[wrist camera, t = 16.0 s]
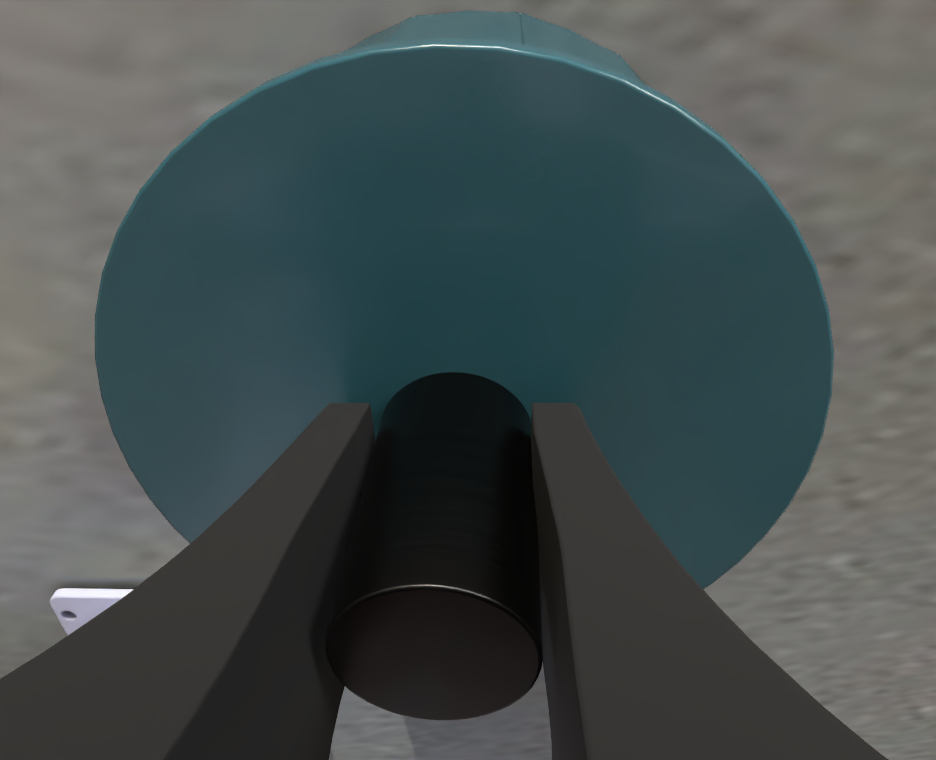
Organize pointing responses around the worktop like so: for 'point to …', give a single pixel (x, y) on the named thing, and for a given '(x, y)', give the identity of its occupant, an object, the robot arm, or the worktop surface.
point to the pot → (500, 34)
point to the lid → (464, 333)
